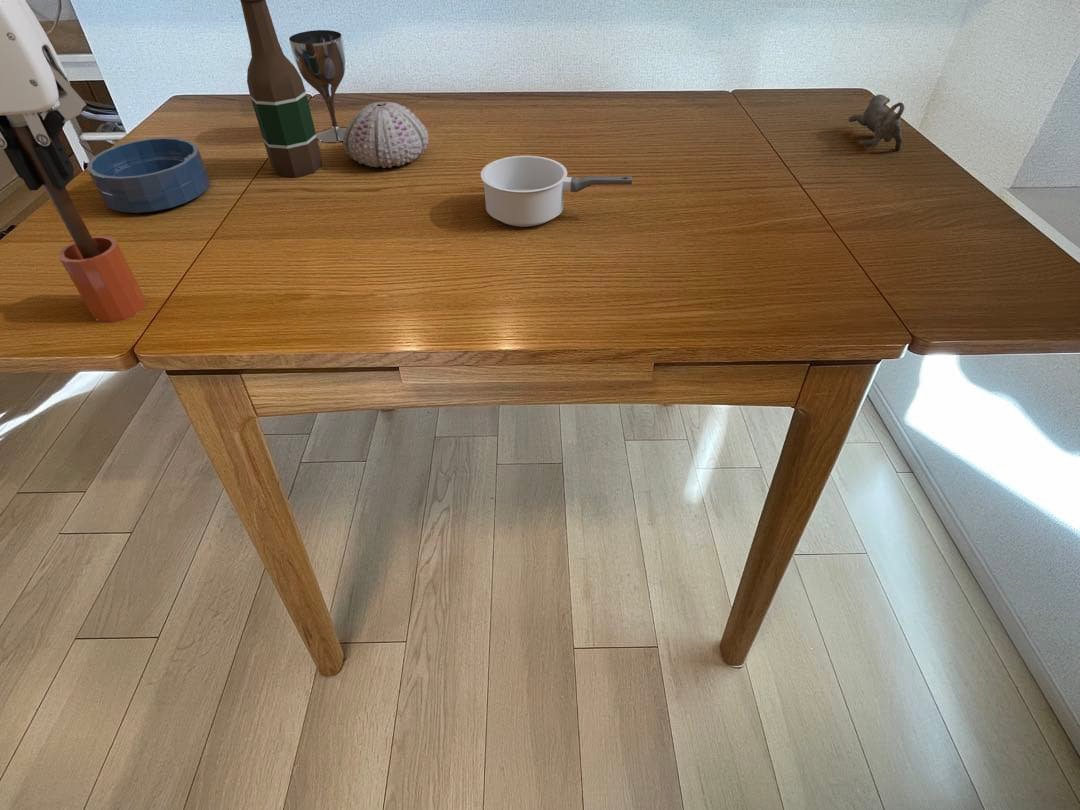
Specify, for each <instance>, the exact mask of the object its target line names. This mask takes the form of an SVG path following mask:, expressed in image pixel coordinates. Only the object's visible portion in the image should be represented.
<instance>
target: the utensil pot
mask: <svg viewBox="0 0 1080 810" xmlns="http://www.w3.org/2000/svg"><path fill="white" fill-rule="evenodd" d="M91 237H92V239H93V241H94V243H95V244H96V246H97V248H98V250H99V252H100V255H97V256H95V257H92V258H87V259H84V258H83V256H82V255H81V253H80V251H79V249H78V247H77V246H76V244H75V242H74V241H72V242H70V243H69V244H67V245H65V246H64V247H62V248H61V250H59V252H58V258H59V260H60V262H61V264H62V265H63V267H64V269H65V271H66V272H67V274H68V276H69V278H70V279H71V282H72V283H73V285H74V286H75V288H76V290H77V291H78V294H79V295H80V296H81V299H82V300H83V302H84V303H85V305H86V307H87V309H88V310H89V312H90V314H91V316H92V317H93V319H95V320H96V321H98V322H102V323H115V322H121V321H124V320H128V319H130V318H133V317H134V316H136V315H138V314H139V313H140V312H142V311H143V310H144V308H145V307H146V305H147V300H146V297H145V295H144V293H143V291H142V289H141V287H140V285H139V283H138V282H137V279H136V277H135V275H134V274H133V271H132V269H131V267H130V265H129V263H128V261H127V259H126V257H125V255H124V253H123V250H122V249H121V247H120V245H119V243H118V241H117V239H116V238H114V237H112V236H109V235H94V236H92V235H91Z"/></svg>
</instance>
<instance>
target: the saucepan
mask: <svg viewBox="0 0 1080 810" xmlns="http://www.w3.org/2000/svg"><path fill="white" fill-rule="evenodd" d="M480 178H481V180H482V181H483V186H484V198H485V199H484V200H485V201H484V202H485V210H486V212H487V214H488V215H489V216H491V217H492V218H493V219H495V220H497V221H500V222H501V223H503V224H505V225H509V226H514V227H527V228H528V227H535V226H539V225H544V224H545V223H547V222H549V221H551V220H553V219H555V218H557V217H558V216H559V215H560V214H562V212H563V210H564V208H565V207H564V206H565V192H568V193H569V192H570V193H578V192H581V191H582V190H584V189H585V188H589V187H591V186H598V185H600V186H601V185H602V186H604V185H605V186H607V185H611V186H612V185H613V186H615V185H617V186H618V185H620V186H621V185H623V186H624V185H625V186H626V185H633V176H606V175H605V176H604V175H603V176H599V175H597V176H596V175H595V176H593V175H591V176H583V177H576V176H568V170H567V168H566V167H565V165H563V164H562V163H561V162H559V161H557V160H554V159H553V158H552V159H551V158H548V157H545V156H537V155H514V156H508V157H507V156H506V157H503V158H499V159H497V160H494V161H492V162H491V161H490V162H489V163H488V164H486V165H485V166H484V167H483V168H482V169H481V171H480Z"/></svg>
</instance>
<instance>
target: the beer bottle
mask: <svg viewBox="0 0 1080 810" xmlns="http://www.w3.org/2000/svg"><path fill="white" fill-rule="evenodd" d="M239 1H240V4H241V9H242V13H243V18H244V21H245V23H244V24H245V27H246V31H247V36H248V40H249V46H250V52H251V53H250V54H251V57H250V60H249V64H248V66H247V75H246V76H247V77H246V84H247V87H248V92H249V97H250V100H251V103H252V107H253V110H254V113H255V116H256V120H257V124H258V126H259V130H260V134H261V137H262V140H263V144H264V147H265V150H266V154H267V157H268V159H269V162H270V166H271V168H272V169H273V171H275V172H276V174H277V175H278V177H287V178H300V177H303V176H304V177H305V176H308V175H312V174H314V173H316V172H317V171H318V170H319V169H320V168H321V167H322V166H323V160H322V153H321V149H320V145H319V140H317V136H316V134H317V133H316V129H315V125H314V120H313V116H312V112H311V108H310V104H309V99H308V95H307V91H306V87H305V84H304V81H303V77H302V75H301V74H300V72H298V71H299V70H297V68H296V66H295V65H294V64H293V63H292V62H291V61H290V60H289V58H288V57H287V56H286V55H285V54H284V51H283V49H282V46H281V44H280V42H279V39H278V35H277V32H276V29H275V26H274V23H273V19H272V16H271V13H270V9H269V6H268V3H267V0H239Z"/></svg>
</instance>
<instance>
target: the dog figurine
mask: <svg viewBox="0 0 1080 810" xmlns="http://www.w3.org/2000/svg"><path fill="white" fill-rule="evenodd" d="M890 102H891V98H889V97H887V96H886V95H884V94H877V95H874V96H873V97H871V99H870V100H869V103H868V105H867V107H866V109H865V110H864V112H863V114H853V115H851V116H849V118H848V121H847V122H849V123H853V122H858V124H860V125H861V126H863V127H866V128H867V129H868V130H869V131H871V132H872V133H873V137H872V138H867V139H863V140H861V142H859V145H860V146H863V147H864V146H865V147H876V146H878V144H879V143H880V142H881V140H883V141H884V143H890V141H892V139H894V141H895V146H894V149H895V150H896V151H901V150H902V146H903V144H902V143H903V141H904V139H903V137H902V121H901V117H902V115H903V113H904V111H905V104H904V103H903V102H897V103H895V104H893V105H892V106H891V107H890V108H889V109H888V110H887V111H886V109H885V108H886V106H887V104H889V103H890ZM897 108H899V109H898V111H897V112H895V110H896V109H897Z"/></svg>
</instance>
